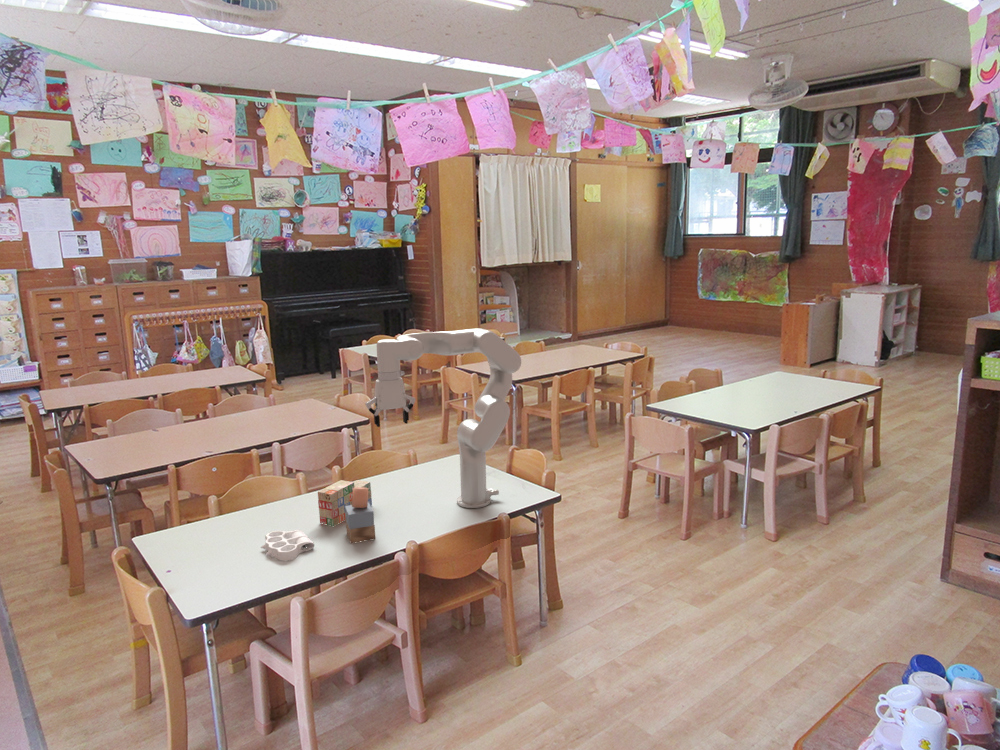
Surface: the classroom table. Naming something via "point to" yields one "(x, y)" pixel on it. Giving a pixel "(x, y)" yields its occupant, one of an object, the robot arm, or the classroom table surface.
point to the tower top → (359, 516)
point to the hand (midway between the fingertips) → (391, 424)
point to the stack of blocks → (338, 500)
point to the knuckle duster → (286, 544)
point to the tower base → (360, 533)
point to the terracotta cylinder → (360, 497)
